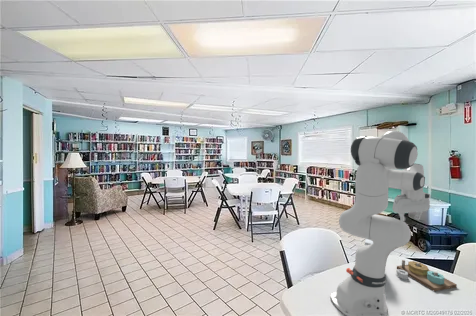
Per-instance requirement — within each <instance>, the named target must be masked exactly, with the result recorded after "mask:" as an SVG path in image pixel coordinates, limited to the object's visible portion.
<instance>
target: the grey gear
mask: <svg viewBox="0 0 476 316" xmlns="http://www.w3.org/2000/svg"><path fill="white" fill-rule="evenodd" d="M395 275H396V277H397V278H400V279H402V280H407V279H409V276H408V273H407V272H406V271H404V270H400V269H396V274H395Z"/></svg>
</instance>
